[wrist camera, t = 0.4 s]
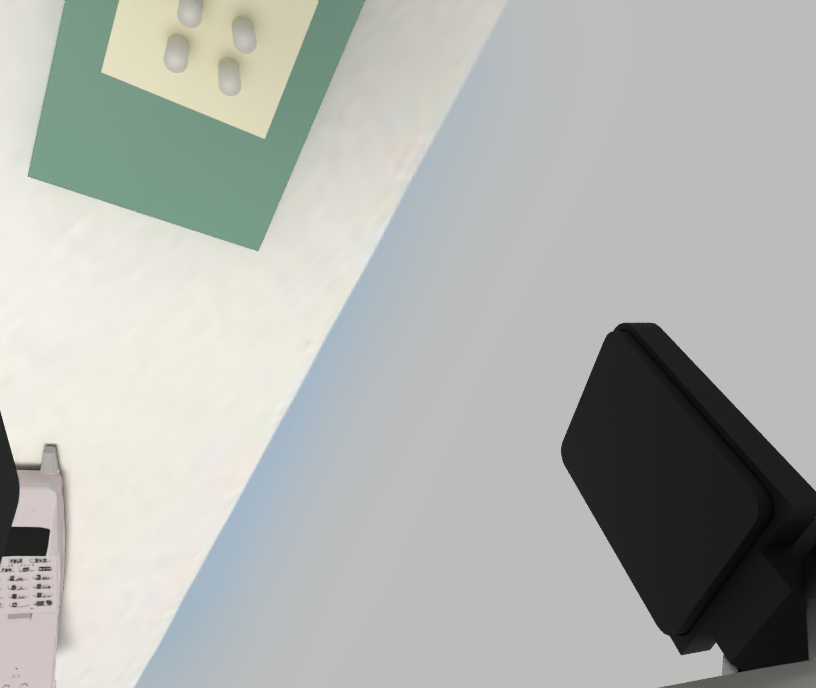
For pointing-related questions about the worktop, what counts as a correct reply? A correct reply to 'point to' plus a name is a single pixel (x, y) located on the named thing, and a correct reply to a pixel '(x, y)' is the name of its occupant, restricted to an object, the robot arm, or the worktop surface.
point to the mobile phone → (33, 579)
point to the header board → (188, 105)
